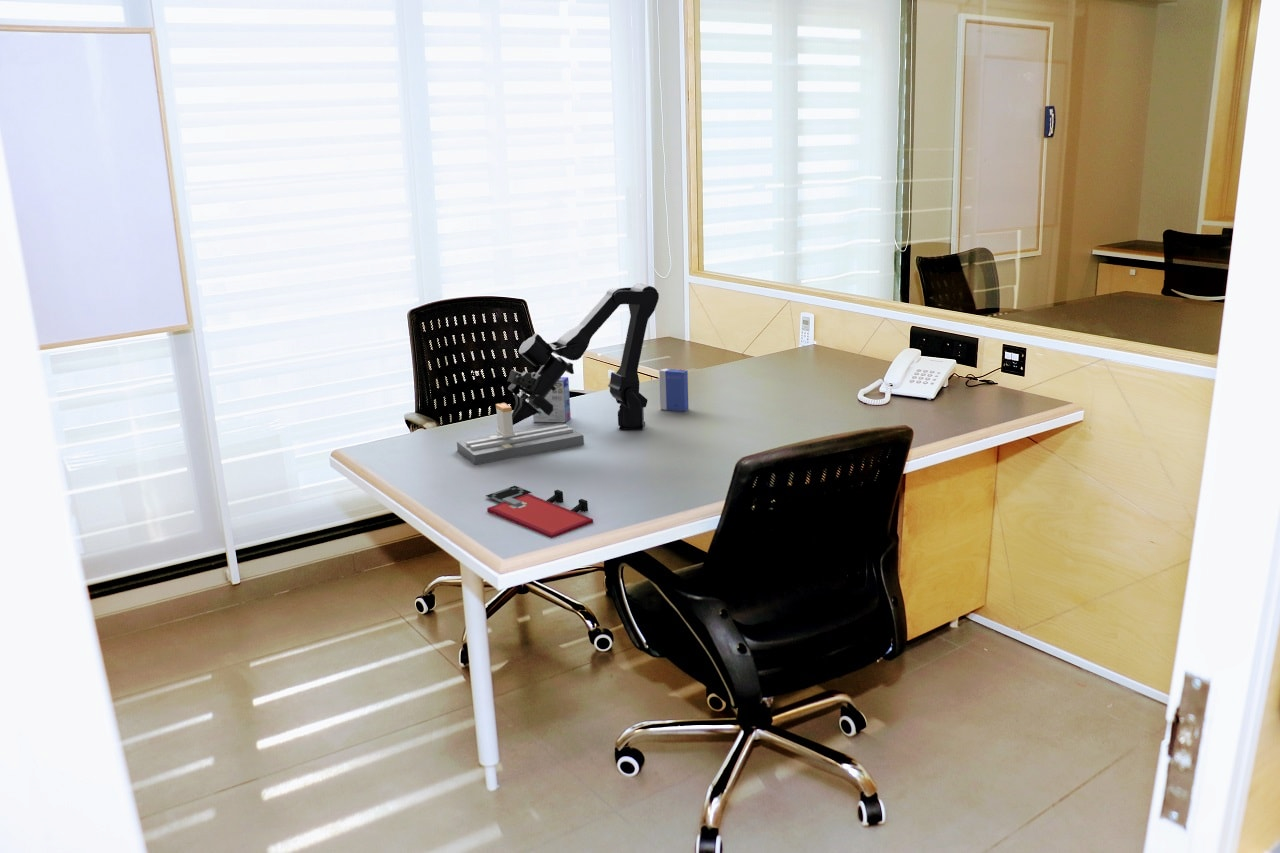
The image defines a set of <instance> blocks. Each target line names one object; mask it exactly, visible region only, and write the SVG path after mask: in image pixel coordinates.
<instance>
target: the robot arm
mask: <svg viewBox="0 0 1280 853" xmlns="http://www.w3.org/2000/svg"><path fill="white" fill-rule="evenodd" d="M659 296H660V294H659V292H658V290H657V289H656V288H655V287H654V286H651V285H647V284H644V283H636V284H634V285H633V286H631V287H620V288H613V287H612V288H610V289H608V290H607V291H606V293H605V294H604V296H603V297H602V298H601V299H600V300H599V302H598V303H597V304H596V305H595V306H594V307H593V308H592V309H591V310H590V312H589V313H588V314H587V315H586V316H585V317H584V318H583V319H582V320H581V321H580V322H579V324H578V325H576V326H575V327H573V328H572V329H570V330H568V331H566V332H565V333H564V334H563V335H561V336H560V337H559V338H558V339H557V340H556V341H552V342H549V343H548V342H546V341H545V340H544V339H543V337H542V336H540V335H539V334H538V333H534V334H533V335H532V336H530V337H528V338H527V339H526V340H524V341H523V342H522V343H521V345H520V347H519V349H518V353H519V355H521V356H522V357H523V358H525V359H526V360H527V361H528V362H530V364H532V365H533V366H534V367H539V369H538V370H537V371H533V372H527V371H522V372H519V371H517V370H514V369H511V370H510V372H509V376H508V379H507V382H510V384H509V386H508V387H507V389H508V390H509V391H510V392H511V393H513V397H514V399H515V405H514V407H513V409H512V423H513V426H514V425H516V424H518V423H520V422H522V421H524V420H525V419H528V418H530V417H532V416H533V415H534V414H536V413H539V411H538V409H539V408H540V409H541V410H542V411H544V413H545V414H546V415H548V416H550V414H551V413H552V412H553V411H554V409H553V405H552V404H551V403H550V402H548V401H547V400H546V399H545V397H546V396H547V394H548V393H549V392H550V391H551V390H552V391H554V390H555V389H556V388H555V387H554V385H555V384H556V383H557V382H558V380H559V379H560V378H561V377H563V375H564V374H565V373H568V374H571V375H573V374H575V372H574V363H572V362H567V361H566V360H564V359H567V360H570V361H577V360H579V359H581V358H582V356H583V355H584V354H585V352H586V351H587V349H588V348H589V344H590V342H591V339H592V338H593V336H594V335H595V334H596V332H598V330H599V329H600V328H601V327H602V325H604V324H605V322H607V320H608V319H609V318H610V317H611V316H612V315H613V313H614V312H616V310H617V309H618V308H619V307H620V306H621V305H628V310H629V316H630V317H629V322H628V324H629V325H628V327H627V328H628V329H627V331H626V337H625V343H624V346H623V347H624V348H623V353H622V356H621V357H622V358H621V362H620V367H619V368H618V369H617V371H616V372H613V371H612V372H610V380H609V382H608V384H607V386H608V387H609V393H610V395H611V397H613V398H614V399H615V401H616V403H617V404H619V409H618V411H617V424H618V426H619V427H618V429H619V430H621V431H622V430H623V431H624V430H625V431H626V430H627V431H629V430H630V431H631V430H633V431H634V430H635V431H637V430H638V431H640V430H641V431H642V430H644V427H645V424H646V421H645V414H644V413H645V412H644V411H645V410H644V408H646V407H647V404H648V398H646V397H645V396H644V395H643V394H641V393H640V378H639V373H638V372H639V371H638V369H639V365H640V360H641V356H642V355H641V354H642V350H643V344H644V341H645V340H644V339H645V335H646V332H647V325H648V321H649V319H650V318H651V316H652V315H653V314H654V312H655V311H656V308H657V304H658V302H659V299H660V297H659ZM553 354H555V355H556V356H557V357H556V356H555V355H553ZM563 358H564V359H563Z"/></svg>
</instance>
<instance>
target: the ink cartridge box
mask: <svg viewBox="0 0 1280 853" xmlns="http://www.w3.org/2000/svg"><path fill="white" fill-rule="evenodd" d="M554 387H555V388H556V389H555V390H554V391H552V390H551V391H550V392H549V393H548V394H547V396H546V397H545V399H546V400H547V401H548V402H550V403H551V404H552V405H553V409H554V411H553V412H552V413H551V414H550V416H548V415H546V414H545V413H544V411H542V410H541V409H540V408H539V409H538V411H539V413H536V414H534V415H532V416H533V418H532V420H533V422H534V423H566V422H569V420H570V419H572V418H571V401H570V400H571V399H570V382H569V377H568V376H561V378H560V379H559V380H558V382H557V383H556V384H555V385H554Z"/></svg>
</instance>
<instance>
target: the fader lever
mask: <svg viewBox="0 0 1280 853" xmlns="http://www.w3.org/2000/svg"><path fill="white" fill-rule="evenodd" d="M495 409H496V410H495V411H496V421H497V429H496V433H497V434H500V435H501V436H503V440H504V439H509V437H510V436H515V433H514V425H513V423H512V413H513V409H512V406H511V405H509V404H508V403H506V402H501V403H500V402H499V403H495Z"/></svg>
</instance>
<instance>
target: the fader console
mask: <svg viewBox="0 0 1280 853" xmlns="http://www.w3.org/2000/svg"><path fill="white" fill-rule="evenodd" d="M513 432H514V433H515V436H510V437H509V439H504V440H503V436H501V435H500V434H498V433H497V434H492V435H487V436H479V437H476V438H469V439H463V440H457V441H456V448H457V452H459V454H462V455H463V456H464V457H465V458H466V459H467V460H469V461H470V462H471V463H472V464H474V465H481V464H482V465H483V464H487V463H491V462H496V461H503V460H508V459H513V457H514V458H517V457H524V456H529V454H530V455H534V453H535V454H538V453H539V452H540V453H545V452H550V450H551V451H555V450H561V449H565V448H572V447H576V446H582V445H584V444H585V440H584V439H585V438H584V435H583V434H582V433H580V432H579V431H577V430H575V429H573V428H572V427H571V426H570V427H569V426H568V425H567V424H565V423H564V422H558V423H555V424H554V423H553V424H549V425H544V426H538V427H532V428H525V429H520V430H513Z"/></svg>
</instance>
